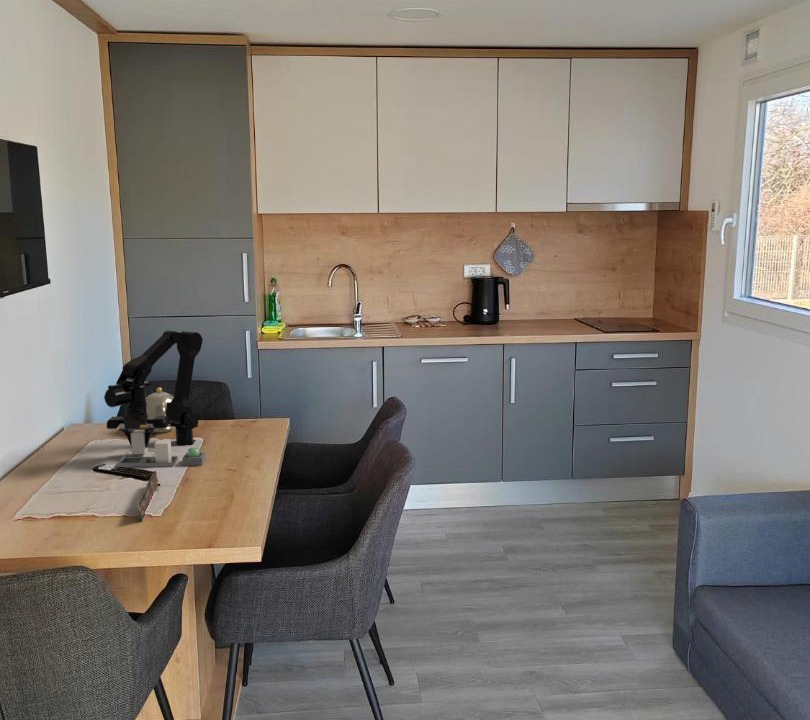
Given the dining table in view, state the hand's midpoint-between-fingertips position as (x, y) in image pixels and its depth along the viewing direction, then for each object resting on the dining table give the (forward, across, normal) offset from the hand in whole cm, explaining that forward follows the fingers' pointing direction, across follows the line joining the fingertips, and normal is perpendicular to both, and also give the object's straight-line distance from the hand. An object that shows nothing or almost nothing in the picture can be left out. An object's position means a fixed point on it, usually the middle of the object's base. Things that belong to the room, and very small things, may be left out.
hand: (139, 447), depth 262 cm
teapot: (+4, -1, +34) cm, 34 cm away
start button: (+1, +20, -10) cm, 22 cm away
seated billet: (+2, +10, -10) cm, 14 cm away
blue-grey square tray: (+4, 0, 0) cm, 4 cm away
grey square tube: (+4, +20, -10) cm, 22 cm away
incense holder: (+4, +14, -43) cm, 45 cm away
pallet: (+4, +5, -10) cm, 12 cm away
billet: (+2, 0, 0) cm, 2 cm away
